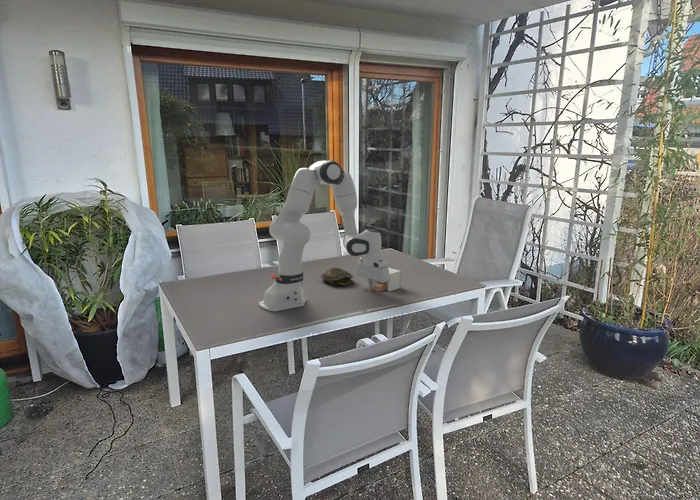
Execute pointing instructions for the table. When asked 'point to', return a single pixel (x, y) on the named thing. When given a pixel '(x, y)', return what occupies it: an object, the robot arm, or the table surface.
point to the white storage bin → (394, 279)
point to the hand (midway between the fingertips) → (372, 287)
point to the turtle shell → (337, 276)
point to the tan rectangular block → (380, 286)
